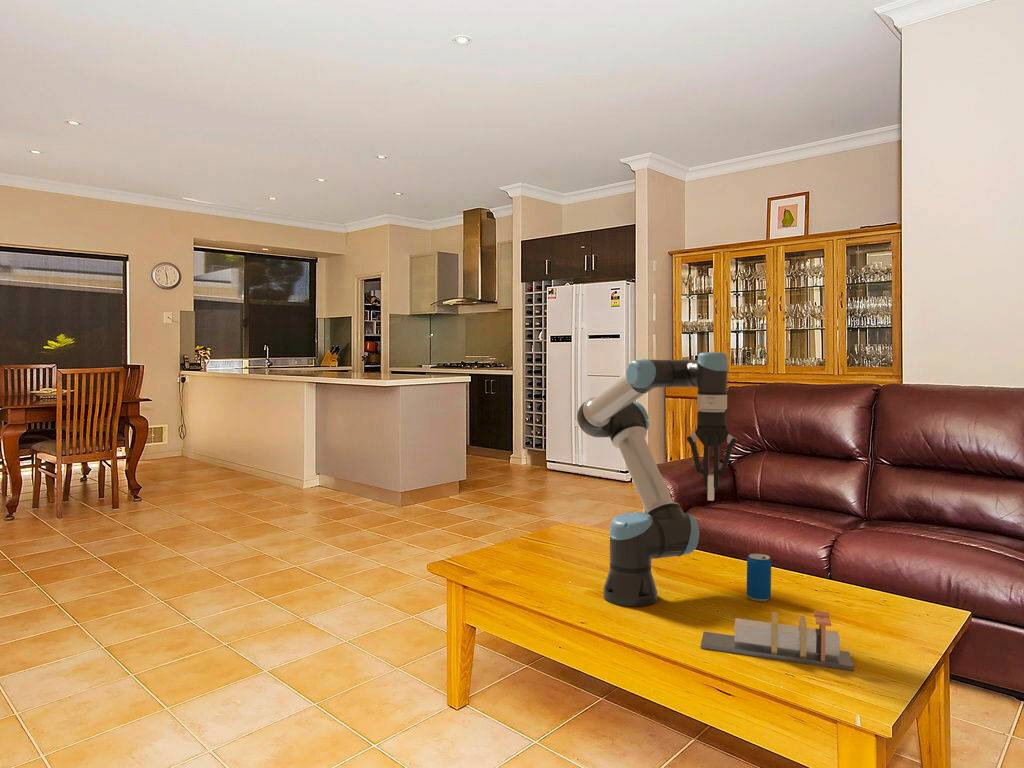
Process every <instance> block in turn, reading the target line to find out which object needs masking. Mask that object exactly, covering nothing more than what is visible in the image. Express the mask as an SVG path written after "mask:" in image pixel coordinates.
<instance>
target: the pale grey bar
mask: <svg viewBox="0 0 1024 768" xmlns="http://www.w3.org/2000/svg"><path fill="white" fill-rule="evenodd" d="M800 632H801V629H800V627H799V626H798V625H790V624H783V623H778V630H777V647H778V648H785V649H792V650H799V651H800ZM734 636H735V640H734V641H736V642H743V643H750V644H757V645H764V646H771V645H772V622H767V621H761V620H753V619H752V620H751V619H744V618H737V617H735V619H734ZM840 639H841V638H840V633H839V631H836V630H827V629H826V631H825V654H827V655H834V656H839V650H840V651H841V649H840V648H841V647H840V642H841V640H840ZM806 652H813V653H818V654H821V629H819V628H818V627H816V628H814V627H807V640H806Z"/></svg>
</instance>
